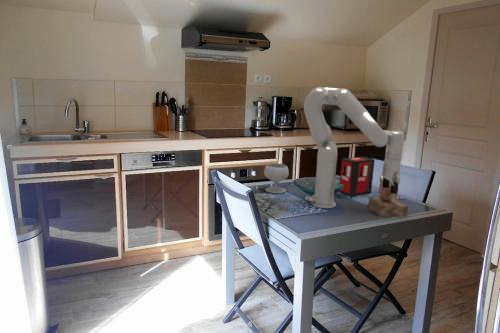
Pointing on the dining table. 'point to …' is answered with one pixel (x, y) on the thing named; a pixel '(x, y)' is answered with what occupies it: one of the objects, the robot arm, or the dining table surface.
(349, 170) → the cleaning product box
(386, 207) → the walnut base block
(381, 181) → the stack of blocks
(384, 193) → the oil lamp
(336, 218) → the dining table surface
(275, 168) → the chalice
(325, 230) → the dining table surface
